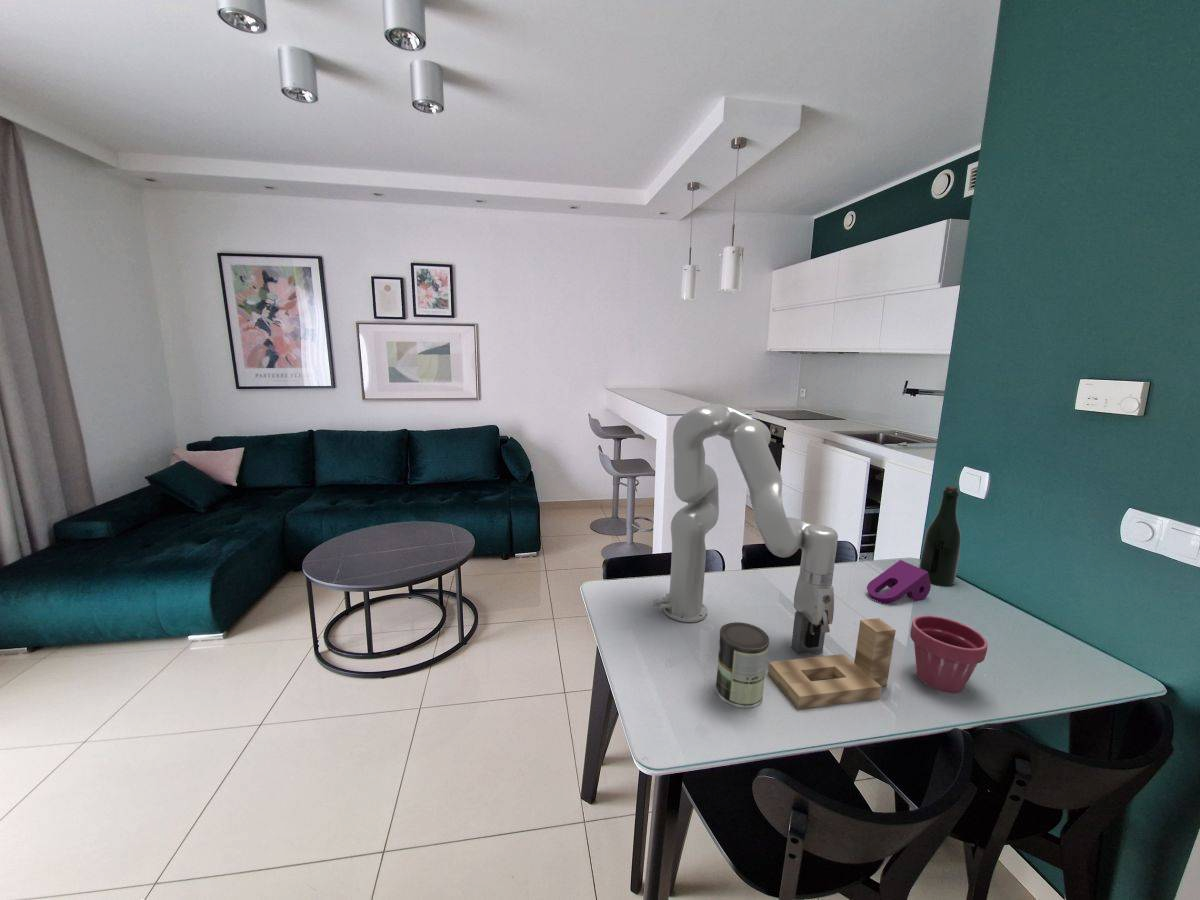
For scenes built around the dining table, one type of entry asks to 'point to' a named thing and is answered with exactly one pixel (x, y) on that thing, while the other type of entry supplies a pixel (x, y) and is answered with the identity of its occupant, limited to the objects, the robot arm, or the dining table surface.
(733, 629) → the coffee can
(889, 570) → the mounting bracket
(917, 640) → the plant pot
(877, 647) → the wooden slotted base
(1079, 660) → the dining table surface
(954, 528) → the beer bottle
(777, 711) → the dining table surface
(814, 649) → the tall grey upright slab
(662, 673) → the dining table surface
